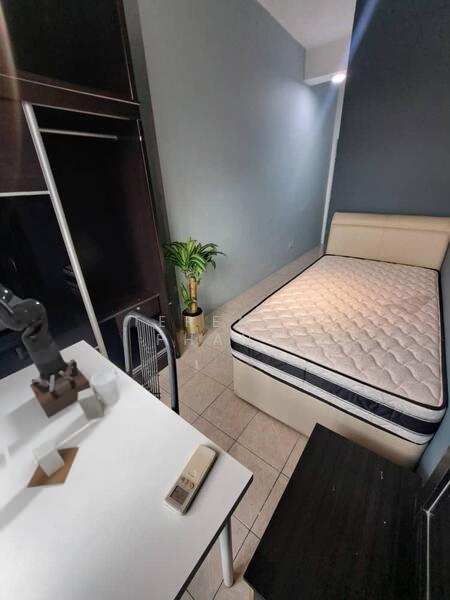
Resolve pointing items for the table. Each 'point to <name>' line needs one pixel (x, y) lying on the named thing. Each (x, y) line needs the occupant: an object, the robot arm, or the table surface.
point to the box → (90, 403)
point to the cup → (107, 385)
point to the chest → (64, 402)
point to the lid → (59, 388)
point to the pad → (60, 475)
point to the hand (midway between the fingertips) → (64, 391)
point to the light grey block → (48, 457)
